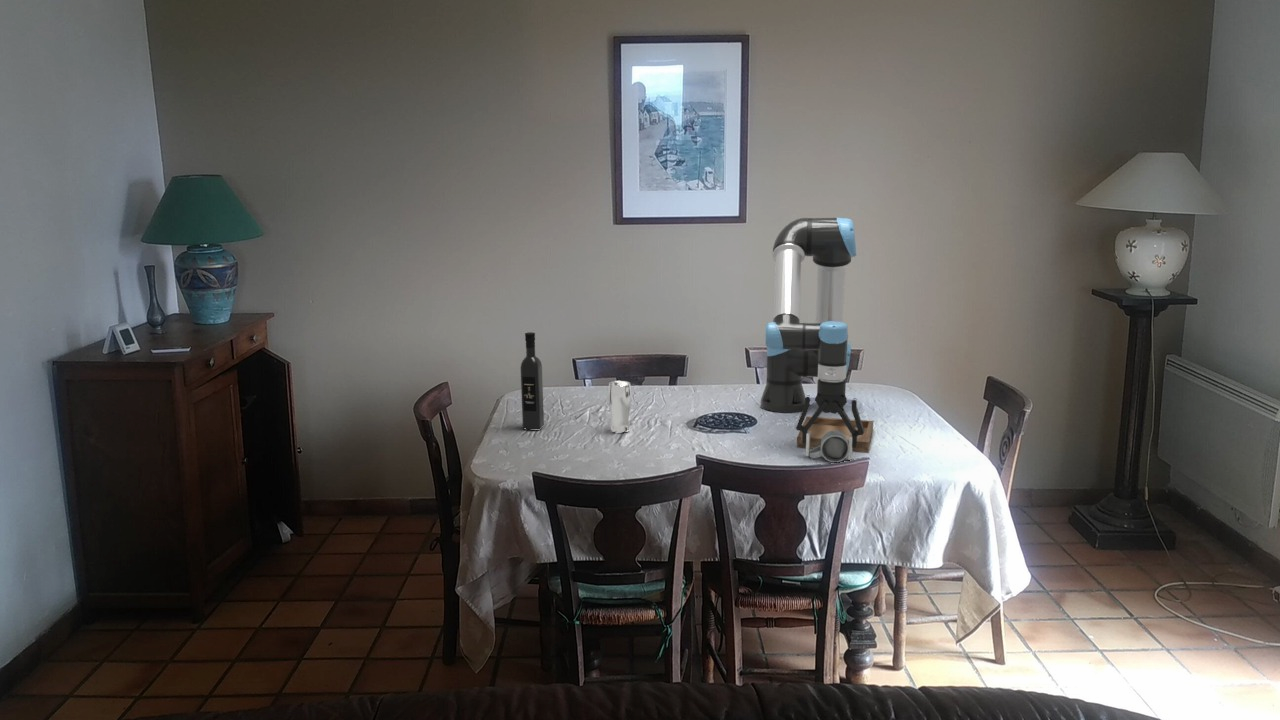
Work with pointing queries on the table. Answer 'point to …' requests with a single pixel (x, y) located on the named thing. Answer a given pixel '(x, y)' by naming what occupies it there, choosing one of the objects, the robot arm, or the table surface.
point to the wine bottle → (531, 386)
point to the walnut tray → (835, 424)
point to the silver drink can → (619, 405)
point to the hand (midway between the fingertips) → (828, 456)
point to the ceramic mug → (832, 447)
